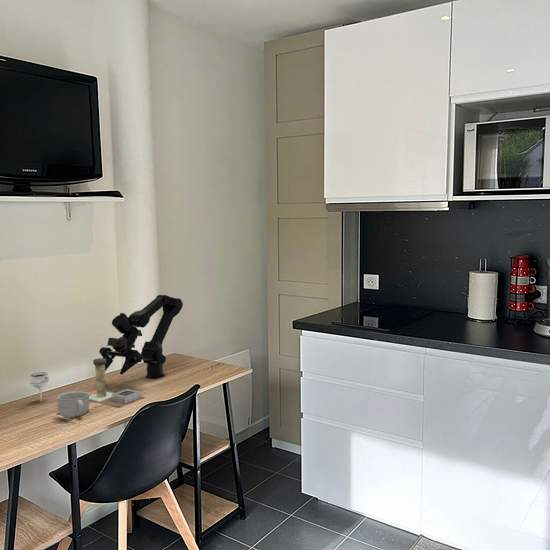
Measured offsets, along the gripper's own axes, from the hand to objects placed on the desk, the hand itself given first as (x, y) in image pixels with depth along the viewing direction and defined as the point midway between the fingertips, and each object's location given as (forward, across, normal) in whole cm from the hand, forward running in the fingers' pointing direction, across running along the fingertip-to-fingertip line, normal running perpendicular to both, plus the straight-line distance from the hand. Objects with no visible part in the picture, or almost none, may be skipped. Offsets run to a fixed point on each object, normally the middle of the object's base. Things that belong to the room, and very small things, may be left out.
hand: (111, 373), depth 219 cm
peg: (+10, 0, 0) cm, 10 cm away
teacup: (+24, +4, -11) cm, 27 cm away
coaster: (+10, 0, +1) cm, 10 cm away
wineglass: (+20, -19, -7) cm, 28 cm away
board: (+10, +5, +2) cm, 12 cm away
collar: (+9, +11, +2) cm, 15 cm away
